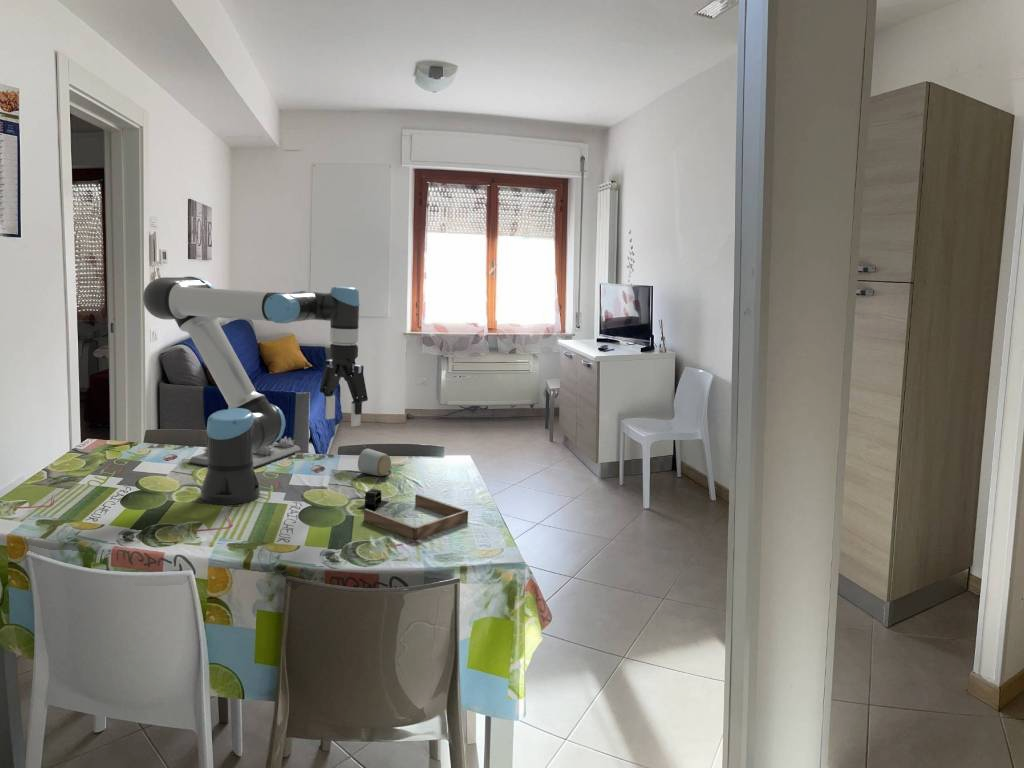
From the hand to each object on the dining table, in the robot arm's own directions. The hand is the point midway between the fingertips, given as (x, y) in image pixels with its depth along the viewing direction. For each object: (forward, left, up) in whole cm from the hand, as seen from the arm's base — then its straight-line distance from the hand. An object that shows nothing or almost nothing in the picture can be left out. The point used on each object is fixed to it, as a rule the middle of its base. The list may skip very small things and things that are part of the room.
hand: (342, 422), depth 207 cm
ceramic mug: (+21, +9, -21) cm, 31 cm away
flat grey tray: (+2, +50, -22) cm, 54 cm away
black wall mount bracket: (0, -14, -22) cm, 26 cm away
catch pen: (0, -30, -21) cm, 37 cm away
